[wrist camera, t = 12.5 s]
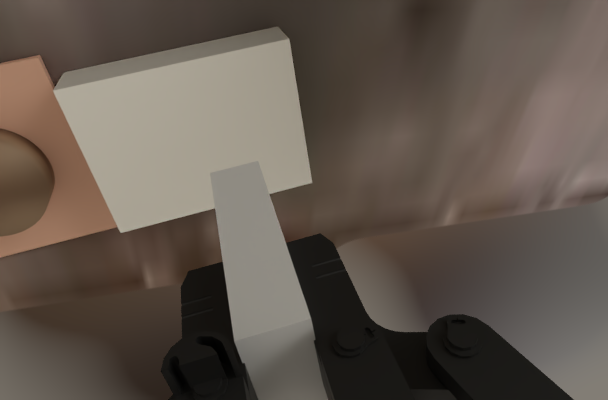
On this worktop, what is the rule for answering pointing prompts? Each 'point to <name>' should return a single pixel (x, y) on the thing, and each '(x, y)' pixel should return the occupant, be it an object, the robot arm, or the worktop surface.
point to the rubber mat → (50, 158)
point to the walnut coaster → (22, 183)
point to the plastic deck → (187, 123)
